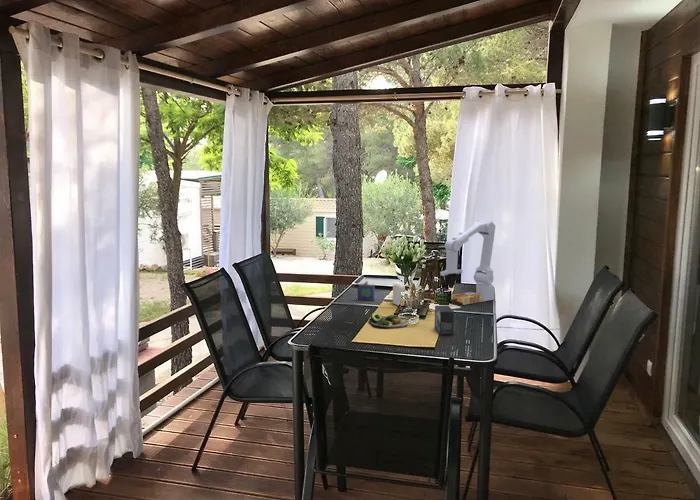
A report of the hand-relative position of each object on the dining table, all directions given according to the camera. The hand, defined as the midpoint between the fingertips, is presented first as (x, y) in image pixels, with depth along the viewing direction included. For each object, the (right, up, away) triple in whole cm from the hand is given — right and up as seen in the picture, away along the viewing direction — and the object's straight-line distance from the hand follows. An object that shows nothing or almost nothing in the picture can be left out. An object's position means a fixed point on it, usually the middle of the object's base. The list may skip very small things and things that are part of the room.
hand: (450, 287), depth 285 cm
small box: (-12, -16, -46) cm, 51 cm away
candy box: (+4, -7, +4) cm, 9 cm away
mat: (-6, -10, -3) cm, 12 cm away
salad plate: (-37, -15, -35) cm, 53 cm away
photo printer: (-27, -9, 0) cm, 29 cm away
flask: (-45, -8, +9) cm, 46 cm away
